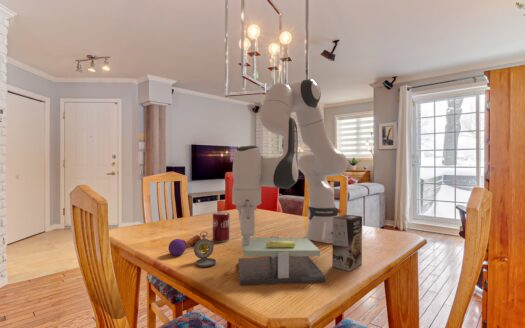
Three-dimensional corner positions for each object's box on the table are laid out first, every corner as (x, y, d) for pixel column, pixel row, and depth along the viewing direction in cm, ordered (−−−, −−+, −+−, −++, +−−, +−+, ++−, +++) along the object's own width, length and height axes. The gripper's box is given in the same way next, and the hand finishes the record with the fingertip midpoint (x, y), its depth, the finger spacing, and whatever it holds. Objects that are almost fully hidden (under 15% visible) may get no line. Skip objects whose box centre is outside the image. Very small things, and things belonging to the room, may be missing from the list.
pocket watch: (206, 269, 89) (206, 237, 89) (187, 264, 94) (187, 234, 94) (223, 261, 96) (223, 232, 96) (205, 257, 101) (205, 229, 101)
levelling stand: (308, 260, 98) (308, 235, 98) (325, 282, 80) (325, 251, 80) (238, 262, 95) (238, 237, 95) (240, 285, 77) (240, 254, 77)
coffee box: (350, 272, 87) (350, 219, 87) (331, 266, 92) (331, 217, 92) (362, 264, 94) (363, 215, 94) (344, 260, 98) (345, 213, 99)
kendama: (205, 233, 120) (182, 242, 100) (202, 247, 119) (178, 259, 100) (192, 230, 121) (167, 238, 101) (189, 244, 121) (163, 255, 101)
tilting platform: (307, 242, 96) (307, 232, 96) (319, 255, 82) (320, 243, 82) (241, 242, 93) (242, 231, 93) (243, 256, 79) (243, 243, 79)
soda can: (231, 238, 126) (231, 211, 127) (227, 243, 119) (227, 214, 119) (215, 238, 127) (215, 211, 127) (210, 242, 120) (210, 214, 120)
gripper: (260, 202, 76) (259, 254, 76) (254, 195, 97) (253, 235, 97) (236, 202, 76) (236, 254, 76) (235, 195, 96) (235, 235, 96)
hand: (246, 243), depth 86 cm, fingers closed, pressing on tilting platform
